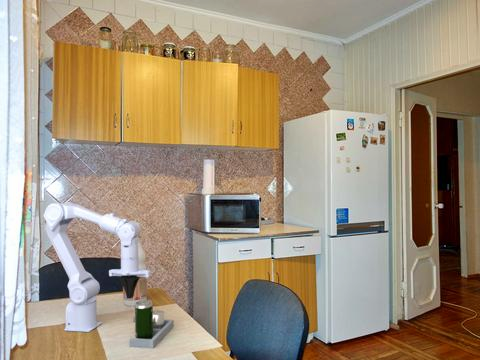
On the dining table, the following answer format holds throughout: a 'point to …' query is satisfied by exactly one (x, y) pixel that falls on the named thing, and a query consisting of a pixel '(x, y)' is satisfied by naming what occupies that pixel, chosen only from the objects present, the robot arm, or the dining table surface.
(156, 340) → the grey piece
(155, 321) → the metal billet
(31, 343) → the dining table surface
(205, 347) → the dining table surface
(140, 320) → the beer can
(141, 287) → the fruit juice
